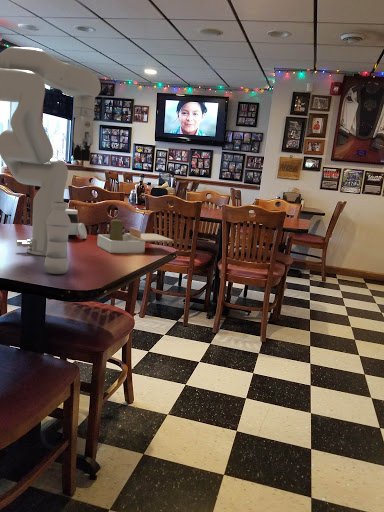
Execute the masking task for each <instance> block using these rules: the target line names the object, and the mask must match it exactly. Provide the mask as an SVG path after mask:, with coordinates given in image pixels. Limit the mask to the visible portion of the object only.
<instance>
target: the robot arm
mask: <svg viewBox="0 0 384 512" xmlns="http://www.w3.org/2000/svg"><path fill="white" fill-rule="evenodd" d="M101 85H102V84H101V82H100V79H99V77H98V76H97V75H96V74H95V73H93V72H92V71H90V70H89V69H87V68H82V67H79V66H76V65H74V64H70V63H67V62H64V61H61V60H59V59H58V58H56V57H54V56H53V55H52V54H50V53H48V52H46V51H45V50H43V49H41V48H35V47H21V46H20V47H19V46H9V47H7V48H5V49H3V50H2V51H1V52H0V102H10V103H18V104H17V106H16V109H15V110H14V112H13V113H12V115H11V117H10V129H6V130H4V131H2V132H1V133H0V157H1V159H2V161H3V163H4V164H5V166H6V167H7V169H8V171H9V172H10V174H11V175H12V177H13V178H14V180H15V181H16V182H18V183H20V184H22V185H28V186H34V187H35V186H36V187H40V188H39V189H38V191H37V192H36V193H35V195H34V197H33V200H32V201H33V202H32V223H31V224H32V228H31V229H32V231H31V232H32V233H31V237H29V239H26V240H16V247H22V248H26V252H27V253H28V254H30V255H36V256H45V257H46V254H47V246H48V234H47V224H46V220H47V217H48V216H49V214H50V213H51V212H52V211H53V208H52V202H53V201H58V202H65V201H64V200H65V199H64V198H65V192H66V191H65V190H66V186H67V182H68V176H69V169H68V167H67V166H68V165H66V163H65V162H64V161H63V160H60V159H57V158H54V149H53V145H52V142H51V140H50V138H49V136H48V134H47V131H46V130H45V129H46V128H45V127H44V124H43V121H42V116H41V115H42V109H43V105H44V99H45V96H46V86H48V87H50V88H53V89H57V90H60V92H61V93H63V94H64V95H66V96H69V97H70V96H71V97H73V111H72V112H73V118H75V119H74V125H73V126H74V127H73V156H72V157H73V160H74V161H80V162H81V161H82V162H90V161H91V146H92V145H94V118H95V103H96V98H97V97H98V96H99V94H100V93H101V87H102V86H101Z"/></svg>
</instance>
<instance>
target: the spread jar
mask: <svg viewBox="0 0 384 512" xmlns="http://www.w3.org/2000/svg"><path fill="white" fill-rule="evenodd" d="M65 212H66V213H67V215H68V216H69V218H70V222H71V223H70V229H69V234H68V239H76V238H78V235H79V238H80V239H82V240H84V239H87V236H88V235H87V234H88V233H87V229H86V226H85V224H84V223H83V222H80V223H79V216H78V215H79V214H78V212H79V211H78V209H72V208H66V210H65Z"/></svg>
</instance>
